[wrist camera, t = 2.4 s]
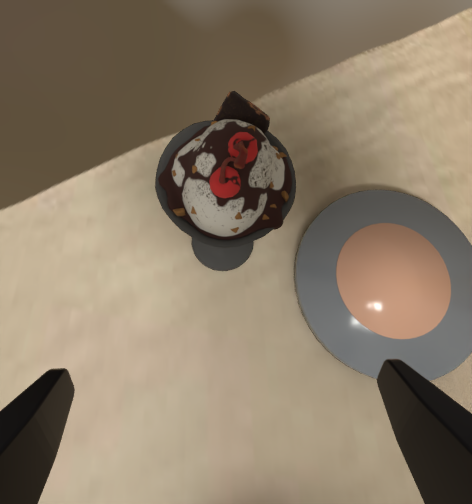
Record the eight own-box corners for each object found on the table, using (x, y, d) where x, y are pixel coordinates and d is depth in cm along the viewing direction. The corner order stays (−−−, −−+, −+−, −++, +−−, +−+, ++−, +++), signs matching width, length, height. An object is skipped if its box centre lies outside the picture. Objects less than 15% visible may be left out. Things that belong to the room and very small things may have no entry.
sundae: (218, 300, 22) (222, 244, 8) (164, 236, 23) (78, 82, 9) (281, 246, 24) (381, 115, 9) (227, 188, 25) (241, -12, 10)
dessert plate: (514, 318, 23) (528, 317, 22) (365, 422, 21) (373, 427, 20) (402, 168, 26) (410, 161, 25) (259, 243, 24) (261, 239, 23)
